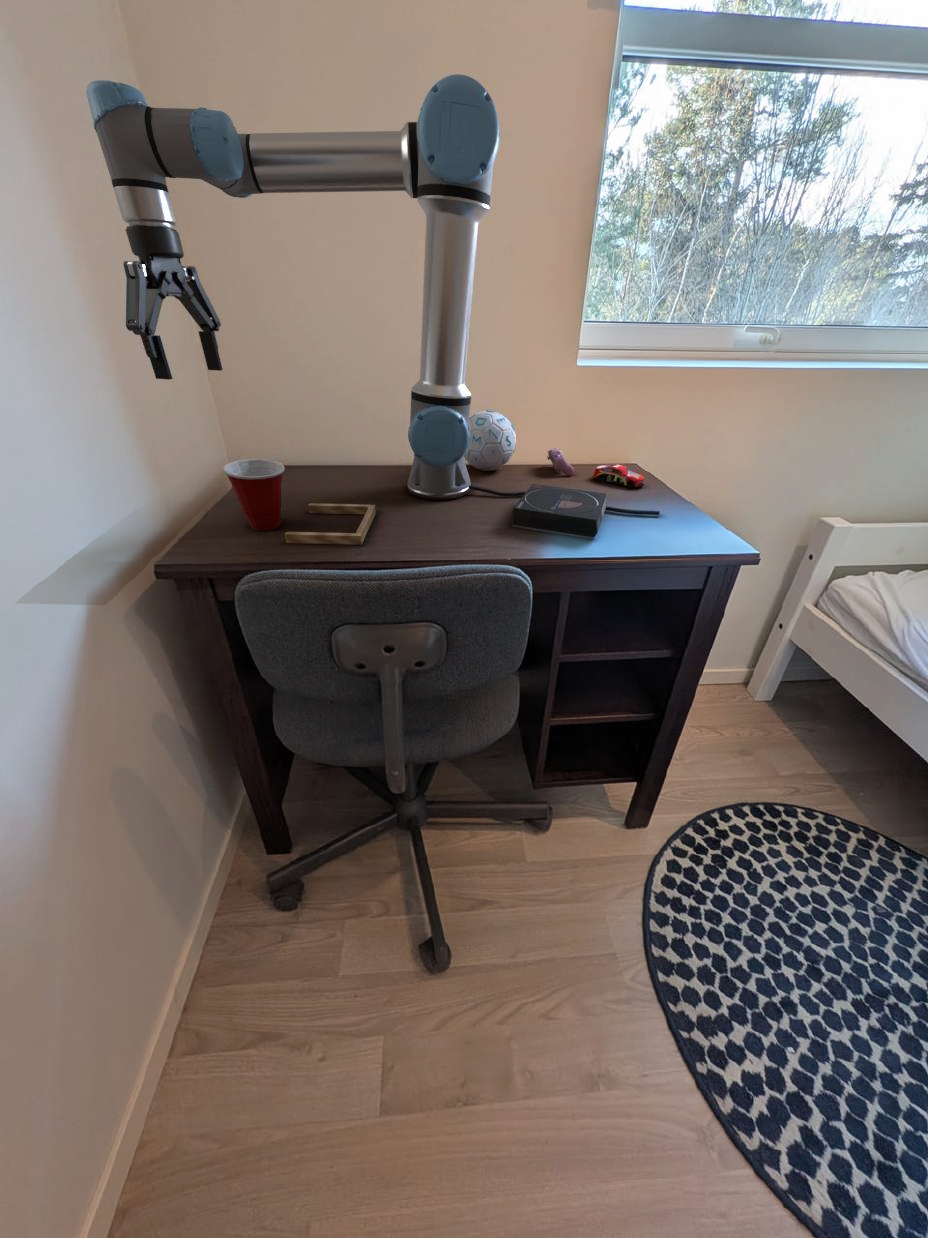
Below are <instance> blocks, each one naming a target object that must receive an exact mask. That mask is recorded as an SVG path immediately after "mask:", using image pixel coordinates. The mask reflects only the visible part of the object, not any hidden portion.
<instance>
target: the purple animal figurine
mask: <svg viewBox="0 0 928 1238" xmlns="http://www.w3.org/2000/svg"><path fill="white" fill-rule="evenodd" d="M547 454H548V455H546V459H547V460H548V461H550V462H551V463H552V466H553V468H554V470H555V471H556V472H557V473H558V474H559V473H563V474H564V475H566V476H573V475H574V474H575V469H574V467H573V466H572V465H571V464H569V462H568V461H567V459H566V458H565V456H564V454H563V451H562V450H561V449H560V448H556V447H555V448H551V449H549V450H547Z"/></svg>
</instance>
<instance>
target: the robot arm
mask: <svg viewBox="0 0 928 1238" xmlns="http://www.w3.org/2000/svg"><path fill="white" fill-rule="evenodd" d="M85 91H86V97H87V102H88V106H89V110H90V114H91V117H92V118H91V119H92V121H93V123H92V124H93V129H94V131H95V133H96V135H97V138H98V142H99V145H100V148H101V151H102V154H103V158H104V161H105V164H106V167H107V171H108V173H109V177H110V181H111V184H112V188H113V191H114V194H115V197H116V202H117V204H118V209H119V211H120V214H121V218H122V220H123V221H124V223H127V224H128V225H127V226H126V228H125V229H124V230H125V233H126V235H127V239H128V243H129V246H130V250H131V252H132V254H133V255H134V256H135V257H138V260H137V261H136V260H124V261H123V269H124V273H125V277H126V283H125V284H126V285H125V287H126V288H125V289H126V290H125V291H126V292H125V293H126V294H125V297H126V299H125V328H126V329H127V330H128V331H129V332H132V333H133V334H134V335H135V336H140V338H141V342H142V345H143V348H144V352H145V354H146V356H147V358H148V359H149V361H150V364H151V367H152V371H153V373H154V377H155V379H156V380H168V381H169V380H173V379H174V378H173V375H172V371H171V369H170V368H171V367H170V366H169V361H168V358H167V354H166V351H165V349H164V344H163V341H162V338H161V335H160V334H159V335H158V334H157V335H155V334H156V330H157V326H158V323H159V318H160V313H161V309H162V306H163V302H164V300H165V299H166V298H167V297H173V298H175V299H176V300H178V301H179V302H180V303H181V305H182V306H183V307H184V309H185V310H186V311H187V312H188V315H190V316H191V318H192V319H193V320H194V321H195V323H196V324H197V326H198V327H199V329H200V331H199V330H198V336H199V340H200V343H201V347H202V351H203V355H204V359H205V363H206V367H207V370H208V371H219V372H220V371H223V365H222V362H221V358H220V353H219V345H218V341H217V337H216V332H219V331H220V327H221V326H222V322H221V319H220V318H219V316H218V314H217V312H216V310H215V308H214V306H213V304H212V302H211V300H210V298H209V296H208V295H207V292H206V290H205V288H204V286H203V284H202V282H201V281H200V277H199V274H198V270H197V267H196V266H193V265H182V262H181V259H182V258H184V257H185V253H184V249H183V245H182V240H181V237H180V233H179V232H178V230H177V229H175V226H176V225H177V219H176V215H175V212H174V208H173V204H172V200H171V196H170V193H169V189H168V185H167V179H166V178H170V179H189V180H190V179H192V180H202V181H204V182H205V183H207V184H209V185H211V186H214V187H215V188H217V189H219V190H221V191H222V192H223V193H224V194H226V195H228V196H230V197H232V198H239V199H247V198H249V197H251V196H253V195H261V194H291V193H292V194H295V193H299V194H300V193H301V194H303V193H362V192H363V193H364V192H365V193H367V192H369V193H370V192H373V193H374V192H404V193H406V194H407V195H408V196H409V198H411V199H417V203H418V205H419V206H420V208H421V209H422V211H423V212H424V214H425V238H424V258H423V259H424V261H423V262H424V263H423V288H422V311H421V313H422V314H421V339H420V341H421V342H420V360H419V361H420V362H419V378H418V380H417V382H415V383H414V385H412V387H410V388H411V389H410V390H411V391H410V413H409V415H410V417H409V427H408V430H407V439H408V442H409V446H410V448H411V450H412V452H413V461H412V463H411V467H410V472H409V476H408V480H407V491H408V493H409V494H410V495H412V496H414V497H416V498H420V499H425V500H433V501H447V500H454V499H455V500H456V499H459V498H462V497H465V496H467V495H468V494H469V493H471V491H478V492H483V493H487V494H491V495H494V496H501V497H517V496H523V495H524V494H525V493H526V491H527V490H525V491H523V490H522V491H509V492H507V491H506V492H505V491H497V490H494V489H490V488H486V487H481V486H475V485H471V484H472V482H471V478H470V475H469V472H468V468H467V465H466V462H465V461H466V460H465V458H464V453H465V452H466V450H467V447H468V445H469V441H470V433H469V418H470V413H471V405H472V404H471V403H472V393H471V390H469V388H468V387H467V385H466V373H467V372H466V371H467V360H468V349H469V336H470V327H471V316H472V313H471V312H472V305H473V304H472V301H473V289H474V280H475V271H476V270H475V269H476V258H477V257H476V256H477V245H478V236H479V235H478V233H479V224H480V222H481V220H482V219H484V217H485V216H486V215H487V214H488V212H489V211H490V205H491V196H492V184H493V177H494V176H493V174H494V165H495V159H496V157H497V153H498V152H499V151H498V150H499V146H500V123H499V118H498V117H499V116H498V112H497V108H496V105H495V102H494V101H493V99H492V97H491V95H490V93H489V92H488V91H487V89H486V88H485V86H483V85H482V84H481V83H480V82H479V81H478V80H476V79H475V78H474V77H472V76H469V75H465V74H458V73H456V74H449V75H447V76H445V77H443V78H441V79H439V80H438V81H437V82H435V84H434V85H433V86H432V87H431V88H430V89H429V90H428V92H427V94H426V96H425V98H424V99H423V102H422V104H421V108H420V111H419V114H418V117H417V121H407V122H405V124H404V125H403V127H402V128H401V129H400V130H381V131H380V130H378V131H376V130H375V131H374V130H373V131H372V130H371V131H322V132H321V131H319V132H315V131H313V132H261V133H260V132H257V133H256V132H255V133H254V132H252V133H238V131H237V128H236V127H235V125H234V122H233V120H232V118H231V117H230V116H229V114H227V113H226V112H224V111H222V110H215V109H208V108H206V107H196V108H183V107H182V108H180V107H179V108H177V107H174V108H173V107H151V106H149V105H148V104H147V100H146V97H145V96H144V94H143V93H142V92H141V90H139V89H138V88H136V87H134V86H132V85H129V84H126V83H123V82H116V81H111V80H105V79H104V80H102V79H101V80H93V81H91V82H90V83H89V84H88V85H87V86H86V90H85ZM605 511H609V512H614V513H620V514H627V515H628V514H629V515H645V516H647V515H649V516H660V514H661V513H660V512H661V511H660V510H642V509H641V510H640V509H629V508H622V507H621V508H620V507H619V508H618V507H615V506H608V505H607V506H606V509H605Z"/></svg>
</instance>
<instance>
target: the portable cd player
mask: <svg viewBox="0 0 928 1238" xmlns="http://www.w3.org/2000/svg"><path fill="white" fill-rule="evenodd" d="M525 491H526V493H525V494H524V495H521V498H520V499H519V500H518V501H517V503H516V504H515V505H514V506H513V507H512V522H511V527H513V528H517V529H518V528H519V529H526V530H532V531H538V532H545V533H552V534H556V535H557V534H558V535H563V536H564V535H565V536H570V537H576V538H577V537H578V538H583V539H591V540H594V538H595V537H596V536H597V535H598V532H599V530H600V527H601V524H602V521H603V518H604V515H605V512H606V510H605V509H606V506H608V505H607V493H605V492H598V491H592V490H591V491H590V490H583V489H573V488H566V487H558V486H552V485H551V486H550V485H544V484H543V485H542V484H536V483H535V484H534V483H531V485H530V486H529V488H528V489H527V490H525Z"/></svg>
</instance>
